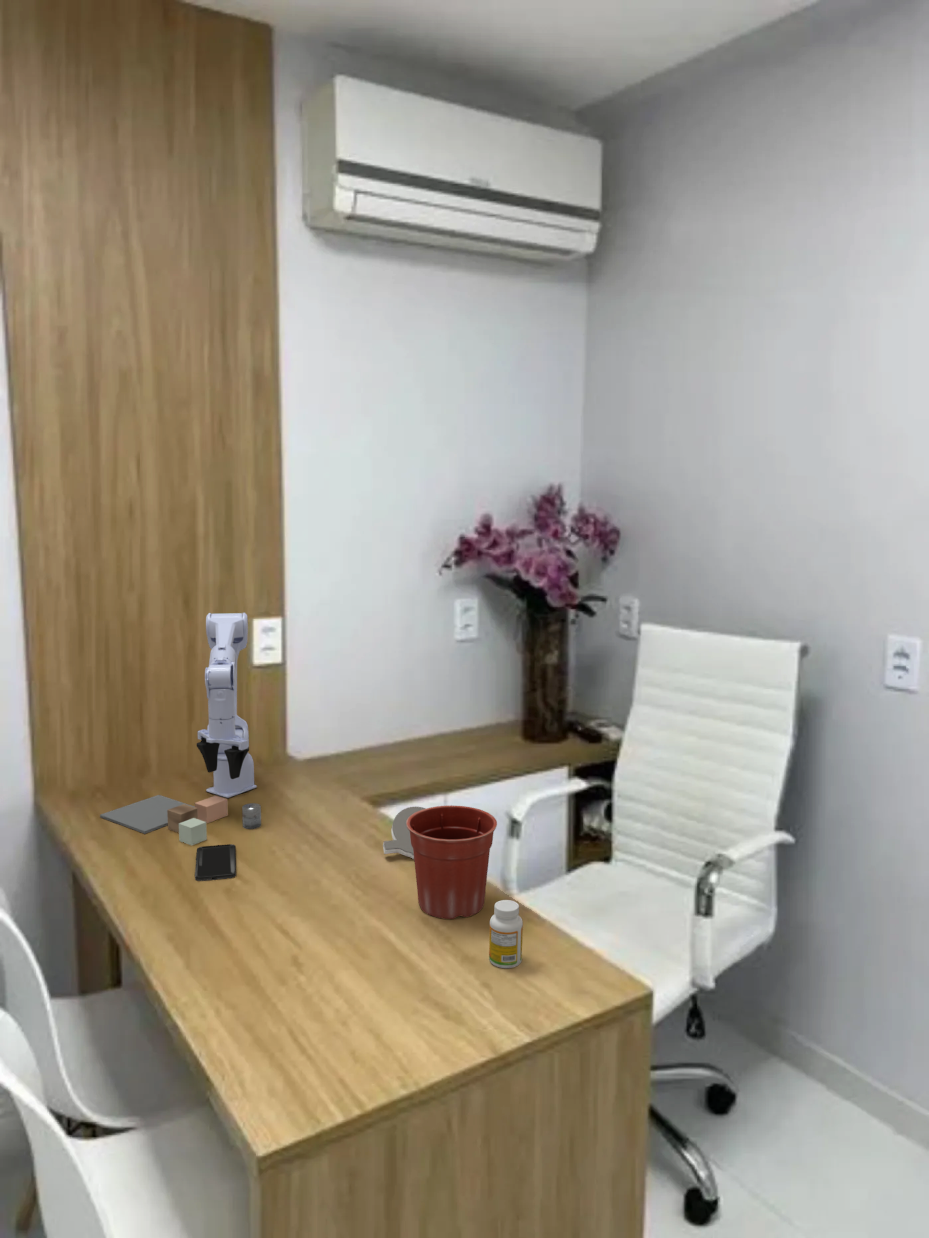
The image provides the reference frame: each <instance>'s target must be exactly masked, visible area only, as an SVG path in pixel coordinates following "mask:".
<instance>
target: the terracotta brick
mask: <svg viewBox="0 0 929 1238" xmlns="http://www.w3.org/2000/svg"><path fill="white" fill-rule="evenodd" d="M194 807H195V808H197V813H198V819H199V820H201V821H204V822H206V824H209V823H212V822H214V821H216V820H220V819H222V818H225V817H227V816H229V811H228V810H229V808H228V798H226V797H223V796H220V795H213V796H210V797H208V798H204V799H202V800H199V801H196V802H194Z"/></svg>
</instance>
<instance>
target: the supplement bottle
mask: <svg viewBox="0 0 929 1238" xmlns="http://www.w3.org/2000/svg"><path fill="white" fill-rule="evenodd" d="M493 909H494V912H493V913H494V914H493V915H492V916H491V918H490V920H489V935H488V936H489V937H488V938H489V940H488V941H489V942H488V943H489V945H488V948H489V949H488V953H489V954H488V960H489V962H490V964H491V965H493V966H494V967H498V968H501V969H512V968H515V967H517V966H519V965H520V964H521V963H522V960H523V933H524V932H523V930H524V929H523V928H524V927H523V926H524V924H523V923H524V922H523V919H522V917H521V916H520V915H519V914H520V905H519V903H517V902H516V901H514V900H510V899H502V900H499V901H496V902H495V903H494V907H493Z"/></svg>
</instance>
